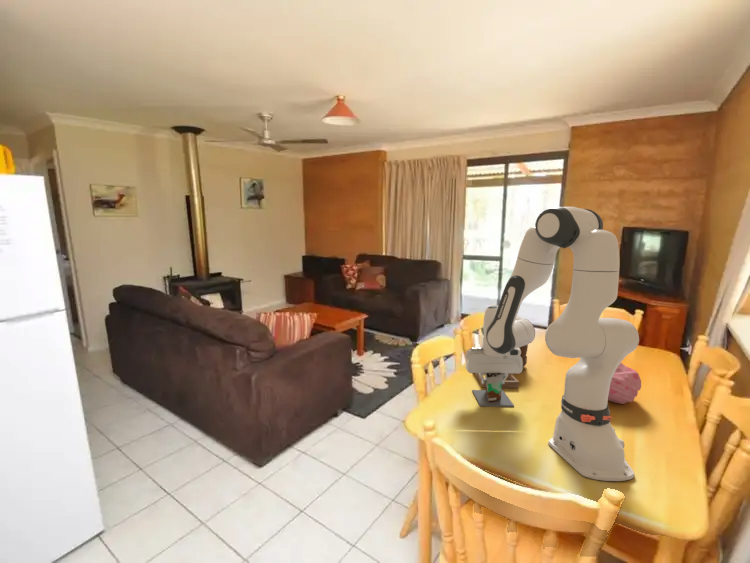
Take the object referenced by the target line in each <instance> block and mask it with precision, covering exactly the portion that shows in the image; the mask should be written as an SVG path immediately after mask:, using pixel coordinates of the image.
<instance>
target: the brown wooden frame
mask: <svg viewBox="0 0 750 563" xmlns="http://www.w3.org/2000/svg"><path fill="white" fill-rule="evenodd" d="M513 374H514V373H508V377H507V378H506V379H508V380H505V384H502V387H501V390H505V389H507V390H516V389H517V390H518V389H519V387H520V381H519V380H518V379H517V378H516V377H515V376H514V375H515V374H514V375H513ZM475 375H476V376H475ZM474 376H475V378H476V379H477V380H479V381H478V382H479V384H480V386H481V385H482V386H481V388H482V389H483V388H486V384H482V378H481V376H480V374H479V373H475V374H474Z"/></svg>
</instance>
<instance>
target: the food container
mask: <svg viewBox="0 0 750 563" xmlns="http://www.w3.org/2000/svg"><path fill="white" fill-rule="evenodd" d="M503 375H504V374H503V373H484V376H485V377H484V378H486V379H487V384H486V389H485V390H486V393H487V398H488V402H496V401H499V400H500V399H501V390H502V389H501V387H502V380H503V378H504V376H503Z"/></svg>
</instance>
